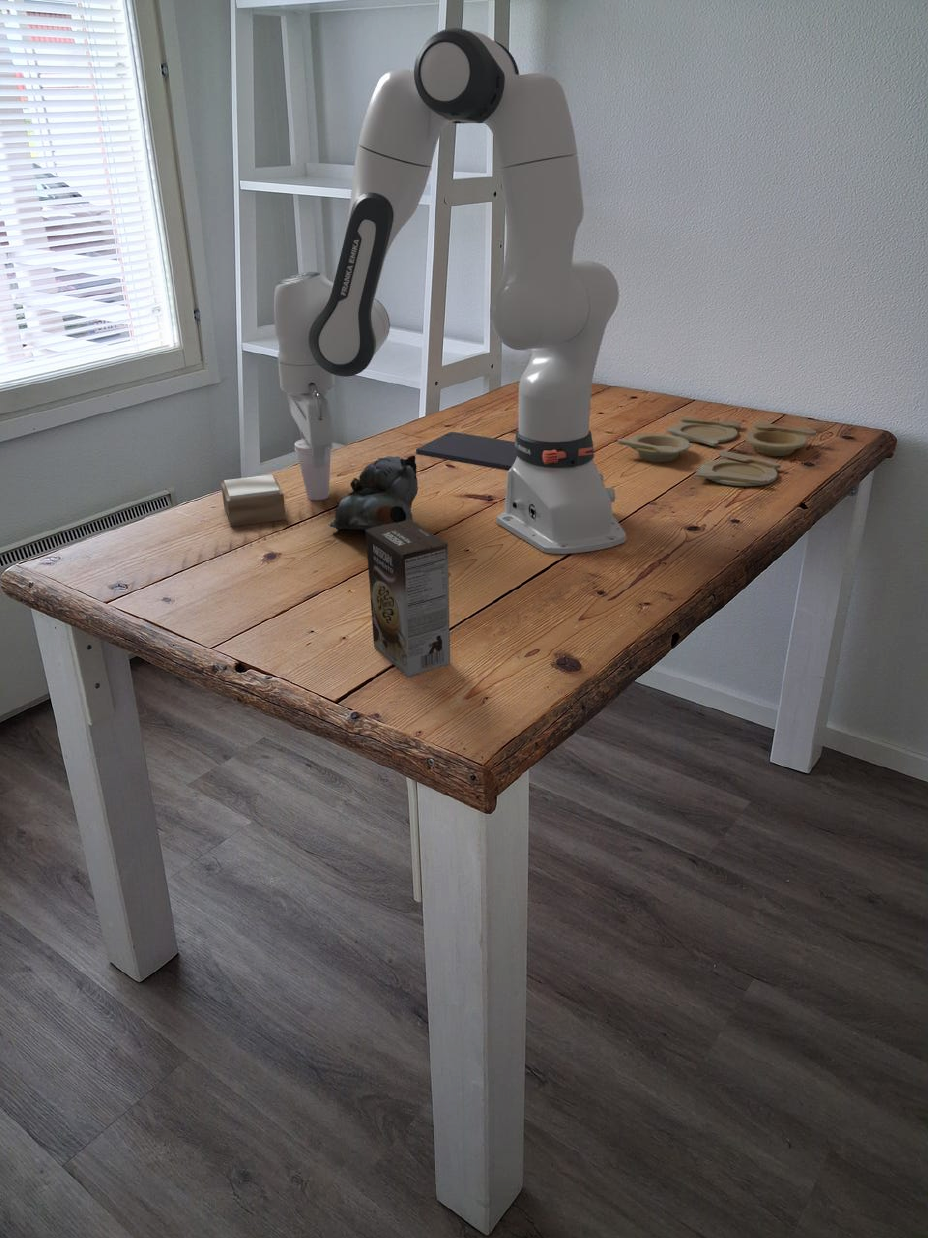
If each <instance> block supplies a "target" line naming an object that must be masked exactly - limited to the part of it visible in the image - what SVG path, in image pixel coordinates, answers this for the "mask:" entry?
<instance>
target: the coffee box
mask: <svg viewBox="0 0 928 1238" xmlns="http://www.w3.org/2000/svg"><path fill="white" fill-rule="evenodd" d="M365 537H366V538H365V539H366V551H367V552H366V554H367V567H368V570H367V571H368V579H369V594H370V595H369V598H370V610H371V620H372V621H371V622H372V637H373V647H374V648H375V649H376V651H378V652H379V653H380V654H381V655H382V656H384V657H385V658H386V659H387V660H388V661H389V662H390V663H391V664H393V665H394V666H395V667H396V668H397V669H398V670H399V671H400V672H402V674H404V675H405V676H406V677H409V678H410V677H412V676H416V675H419V674H421V673H425V672H427V671H428V672H429V671H431V670H434V669H437V668H441V667H444V666H446V665H450V664H451V653H450V652H451V648H450V647H451V646H450V645H451V643H450V641H451V640H450V638H451V637H450V633H451V632H450V589H449V588H450V586H449V585H450V581H449V578H450V577H449V576H450V575H449V573H450V571H449V570H450V569H449V543H447V542H446V541H445V540H443V539H441V538H440V537H439V536H436V535H435V534H433V533H432V532H430V531H429V530H428V529H426V528H424V527H423V526H421V525H420V524H418V523H417V522H415V521H414V520H413V521H412V520H411V519H410V520H406V521H402V522H399V523H391V524H385V525H382V526H378V527H374V528H370V529H367V530H365Z"/></svg>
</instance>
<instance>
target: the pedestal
mask: <svg viewBox="0 0 928 1238" xmlns="http://www.w3.org/2000/svg"><path fill="white" fill-rule="evenodd" d="M220 486H221V493H222V499H223V500H222V501H223V507H224V512H225V514H226V517H227V519H228V523H229V526H230V527H231V528H232V527H240V526H247V525H254V524H261V523H268V522H276V521H284V520H285V521H286V520H287V515H286V514H287V513H286V504H285V495H284V492H283V490H282V488H281V487H280V484H279V482H278V480H277V478H276V476H273V474H264V475H256V476H250V477H240V478H232V479H224V480H223V482H220Z"/></svg>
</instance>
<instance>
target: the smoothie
mask: <svg viewBox="0 0 928 1238" xmlns="http://www.w3.org/2000/svg"><path fill="white" fill-rule="evenodd" d="M333 447H334V446H333V445H332V446H330V447H325V455H324V463H325V465H324V467H321V468H315V467H314V465H313V463H312V448H311V446H310V445H309V443H308V441H307V440H306V438H304V439H302V438H301V439H298V440H297V441H295V442H294V450H295V452H296V453H297V457H298V461H299V466H300V470H301V475H302V480H303V484H304V489H305V492H306V497H307V499H308V500H311V501H322V500H326V499H328V498H329V497H330V480H331V479H330V477H331V455H332V454H331V453H332V452H331V451H332V449H333Z"/></svg>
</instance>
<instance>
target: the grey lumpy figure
mask: <svg viewBox="0 0 928 1238" xmlns="http://www.w3.org/2000/svg"><path fill="white" fill-rule="evenodd" d="M349 484H350V487H351V489H352V491H351V492H350V493H348V494H347V496H346V497H344V498H342V499H341V500H340V503H339V504H338V506H337V508H336V510H335V513H334V514H335V519H333V520H332V521H331V522H330V523H328V526H329V527H332V528H335V529H336V530H337V531H339V530H341V529H346V530H361V531H362V530H367V529H370V528H374V527H378V526H382V525H385V524H391V523H399V522H402V521H406V520H410V519H411V520H412V521H414V519H413V512H412V511H411V510H412V509H411V508H412V504H413V502H414V500H415V498H416V497H417V495H418V491H419V486H418V477H417V463H416V455H411V456H408V457H407V458H403V457H402V458H401V457H400V456H385V457H379V458H377V460H375V461H374V462H372V463H369V464H368V465H366V466H365V468H364V469H363V470H362V471H361V473H360V475H359V477H358V478H355V477H353V478H352V480H351V481H350V483H349Z"/></svg>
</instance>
